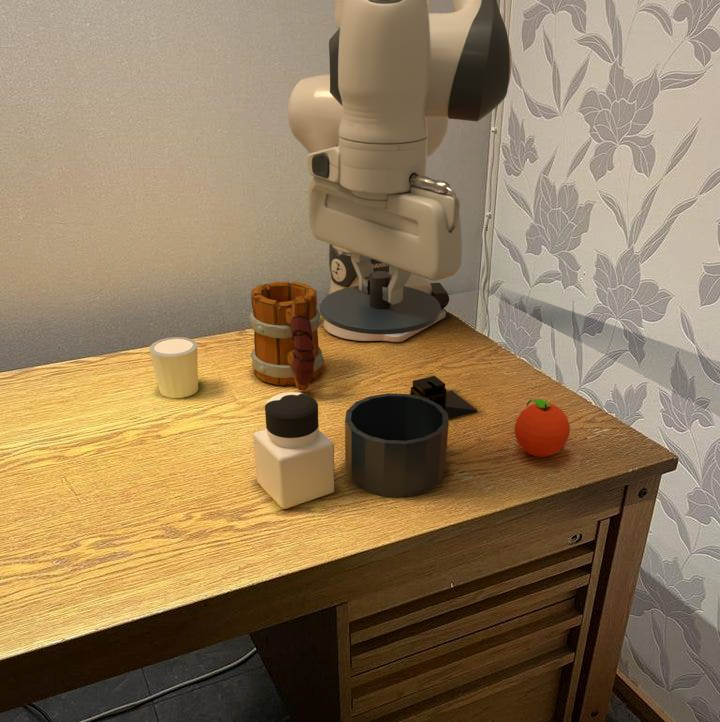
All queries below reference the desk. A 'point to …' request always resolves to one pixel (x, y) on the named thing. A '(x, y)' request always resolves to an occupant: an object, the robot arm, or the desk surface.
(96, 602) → the desk surface
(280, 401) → the medicine bottle
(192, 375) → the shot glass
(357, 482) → the enamel pot
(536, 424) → the clementine
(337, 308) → the pot lid
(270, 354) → the mug
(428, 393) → the black wedge
